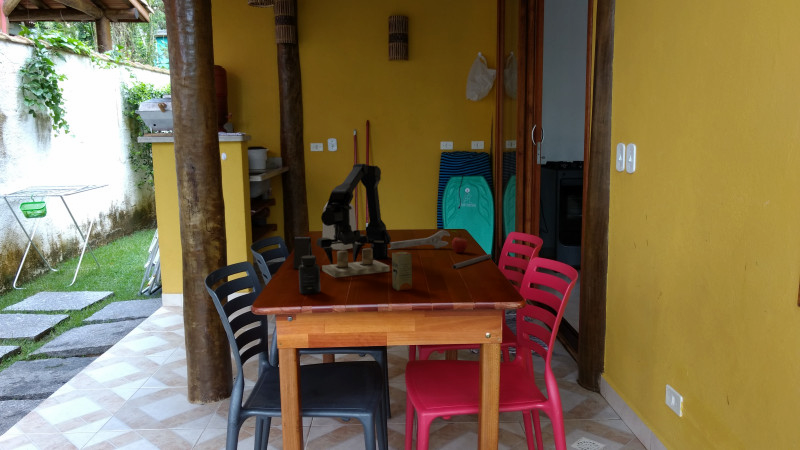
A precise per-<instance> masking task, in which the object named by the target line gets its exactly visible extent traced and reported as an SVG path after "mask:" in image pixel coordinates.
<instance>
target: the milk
mask: <svg viewBox="0 0 800 450" xmlns="http://www.w3.org/2000/svg"><path fill="white" fill-rule="evenodd" d="M327 203H328V201H327V202H326V204H325V205H324V207H323V209H322V213H323V212H324V211H326V207H327ZM333 204H334V203H333ZM349 206H351V208H352V209H349V215H350V225H351V230H352V231H355V230H357V222H356V221H357V219H356V211H355V209H356V208H355V206H354V205H353V203H350V204H349ZM321 235H322V236H321V238H326V237H327V238H330V239H335V238H334V235H335V228H334V225H331V226H327V225H325V224H324V223H323V222H322V234H321ZM338 241H339V240H338ZM331 247H332V250H336V251H347V250H348V249H349V250H350V249H353V244H348V245H344V244H343V243H339V244H332V245H331Z"/></svg>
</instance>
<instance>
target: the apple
mask: <svg viewBox="0 0 800 450" xmlns="http://www.w3.org/2000/svg"><path fill="white" fill-rule="evenodd" d="M450 232H451V233H454V232H455V233H457V234H458V236H455V237H453V240H452V241H451V245H452V248H453V251H454V253H455V254H461V253H462V254H463V253H465V251H466V250H467V247H468V240H466V239H465V238H463V237H461V236H462V234H461V233H459V232H458V231H457V230H454V229H453V230H451V231H450Z"/></svg>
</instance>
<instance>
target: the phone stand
mask: <svg viewBox="0 0 800 450" xmlns="http://www.w3.org/2000/svg"><path fill="white" fill-rule="evenodd" d="M293 241H294V242H293V243H294V247H293V248H294V251H293V264H292V265H293V267H292V268H293V270H299V266H300V265H302V263H301V257H303V256H314V255H313V248H312V238H311V236H295V237H294V240H293Z"/></svg>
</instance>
